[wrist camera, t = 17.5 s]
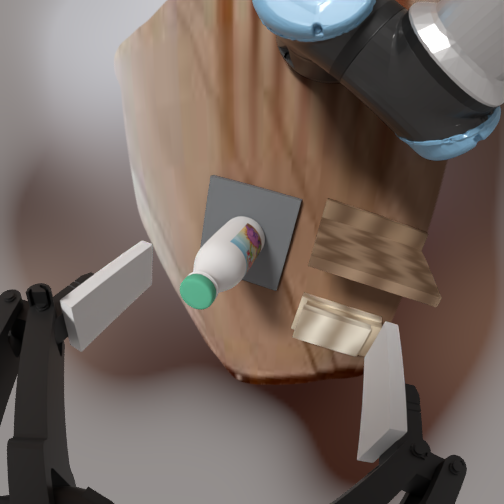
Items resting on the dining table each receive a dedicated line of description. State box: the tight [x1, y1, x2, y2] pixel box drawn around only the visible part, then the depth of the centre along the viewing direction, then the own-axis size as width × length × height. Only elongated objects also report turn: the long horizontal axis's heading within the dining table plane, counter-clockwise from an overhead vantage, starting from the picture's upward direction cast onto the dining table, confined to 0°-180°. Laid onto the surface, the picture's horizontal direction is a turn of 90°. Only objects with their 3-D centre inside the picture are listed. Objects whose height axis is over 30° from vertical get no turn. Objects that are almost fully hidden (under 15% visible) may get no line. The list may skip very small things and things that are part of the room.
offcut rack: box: [291, 198, 441, 357], centre depth 47 cm, size 18×26×16 cm
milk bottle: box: [180, 216, 265, 309], centre depth 47 cm, size 8×8×20 cm
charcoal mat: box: [200, 175, 302, 291], centre depth 56 cm, size 16×18×1 cm
